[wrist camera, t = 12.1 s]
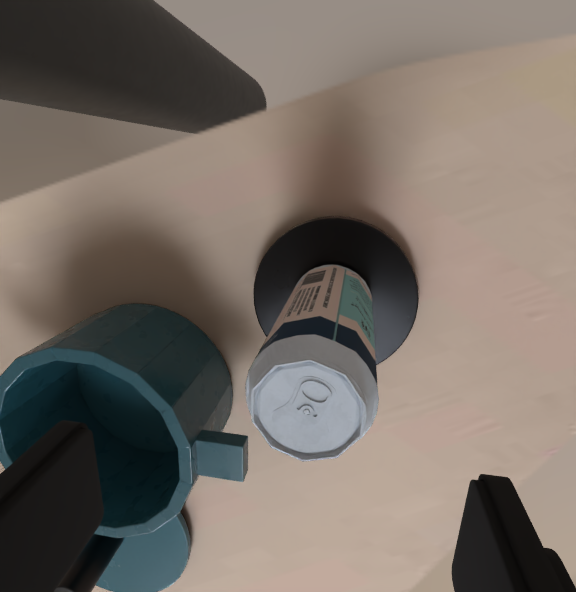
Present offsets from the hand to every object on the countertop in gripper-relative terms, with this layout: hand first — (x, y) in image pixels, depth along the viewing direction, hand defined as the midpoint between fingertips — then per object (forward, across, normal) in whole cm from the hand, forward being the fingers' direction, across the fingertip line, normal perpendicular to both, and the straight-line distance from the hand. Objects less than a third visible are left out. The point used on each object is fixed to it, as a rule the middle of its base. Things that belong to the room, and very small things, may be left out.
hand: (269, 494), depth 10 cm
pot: (+17, +12, +8) cm, 23 cm away
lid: (+16, +16, +22) cm, 32 cm away
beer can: (+16, -1, 0) cm, 16 cm away
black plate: (+17, -1, 0) cm, 17 cm away
